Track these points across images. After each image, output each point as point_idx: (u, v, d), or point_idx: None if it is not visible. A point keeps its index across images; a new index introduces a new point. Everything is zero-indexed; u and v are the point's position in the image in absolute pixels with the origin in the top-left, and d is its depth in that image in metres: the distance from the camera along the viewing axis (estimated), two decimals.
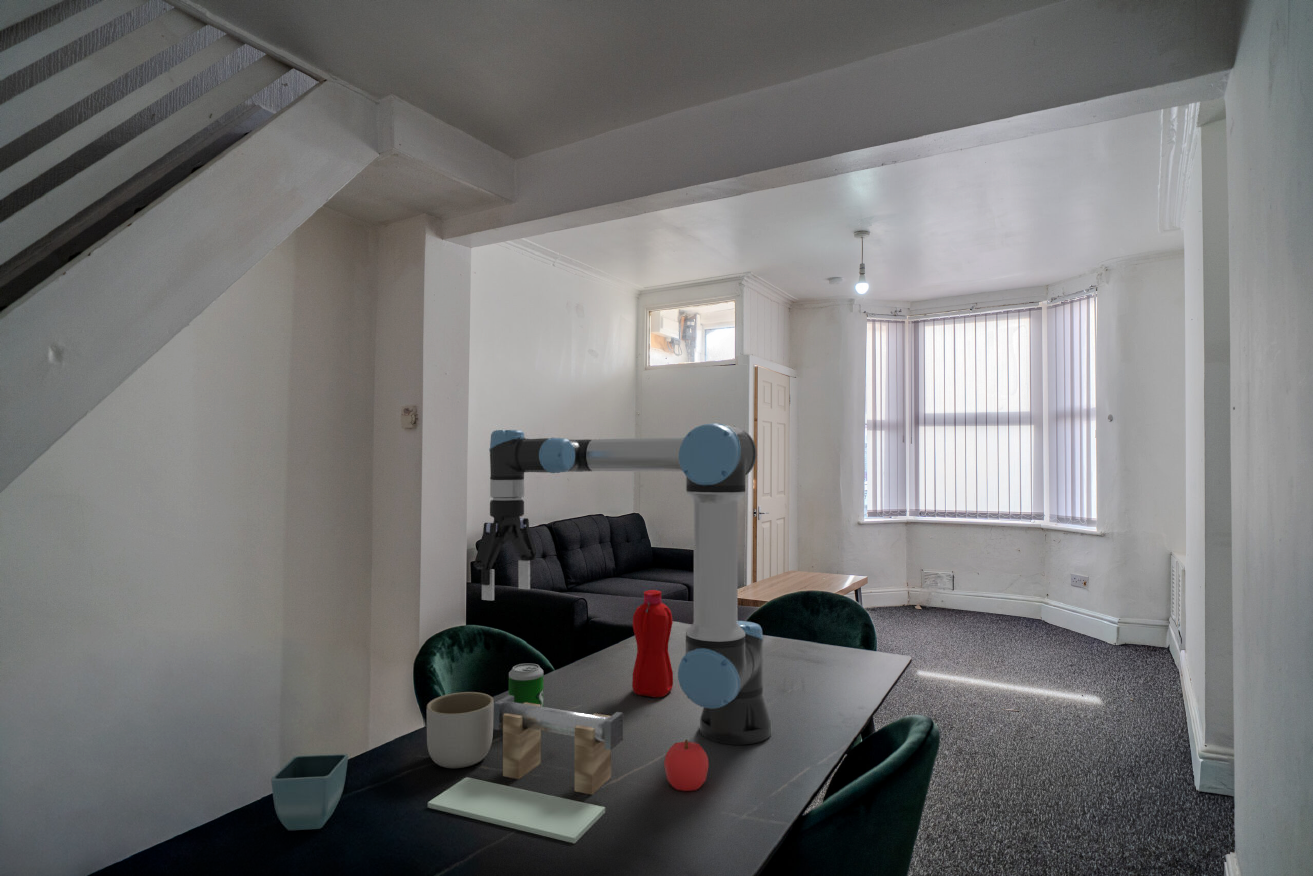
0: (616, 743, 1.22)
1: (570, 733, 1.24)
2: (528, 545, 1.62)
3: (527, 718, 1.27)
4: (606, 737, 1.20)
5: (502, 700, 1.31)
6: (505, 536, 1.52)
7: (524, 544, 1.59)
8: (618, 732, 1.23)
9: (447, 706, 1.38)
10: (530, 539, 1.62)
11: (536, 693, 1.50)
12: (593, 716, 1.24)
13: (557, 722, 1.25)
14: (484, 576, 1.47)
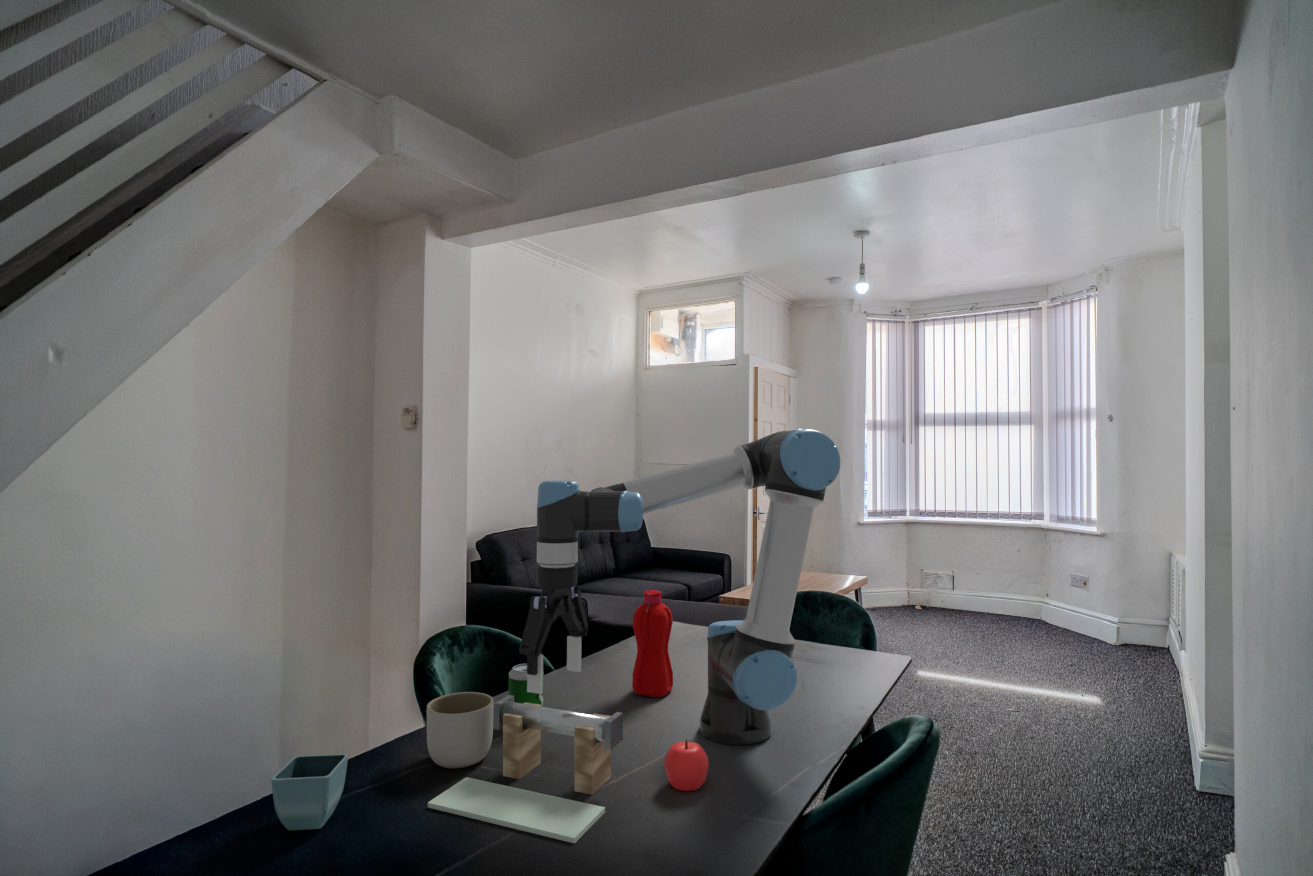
0: (616, 743, 1.22)
1: (570, 733, 1.24)
2: (579, 617, 1.34)
3: (527, 718, 1.27)
4: (606, 737, 1.20)
5: (502, 700, 1.31)
6: (556, 612, 1.24)
7: (575, 618, 1.31)
8: (618, 732, 1.23)
9: (447, 706, 1.38)
10: (582, 610, 1.34)
11: (536, 693, 1.50)
12: (593, 716, 1.24)
13: (557, 722, 1.25)
14: (531, 664, 1.19)
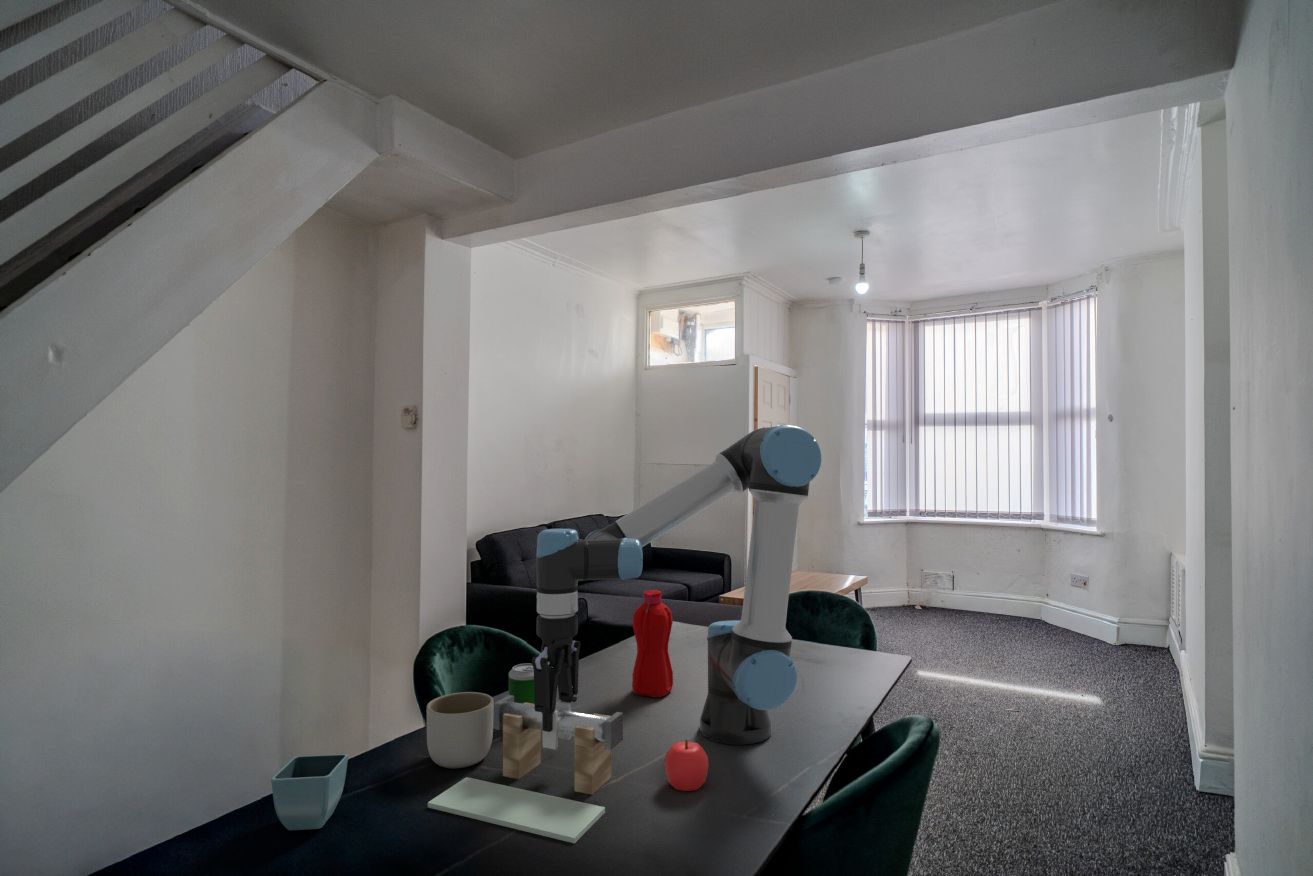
0: (616, 743, 1.22)
1: (570, 733, 1.24)
2: (571, 677, 1.31)
3: (527, 718, 1.27)
4: (606, 737, 1.20)
5: (502, 700, 1.31)
6: (559, 665, 1.25)
7: (569, 676, 1.29)
8: (618, 732, 1.23)
9: (447, 706, 1.38)
10: (576, 670, 1.31)
11: None
12: (593, 716, 1.24)
13: None
14: (546, 721, 1.23)
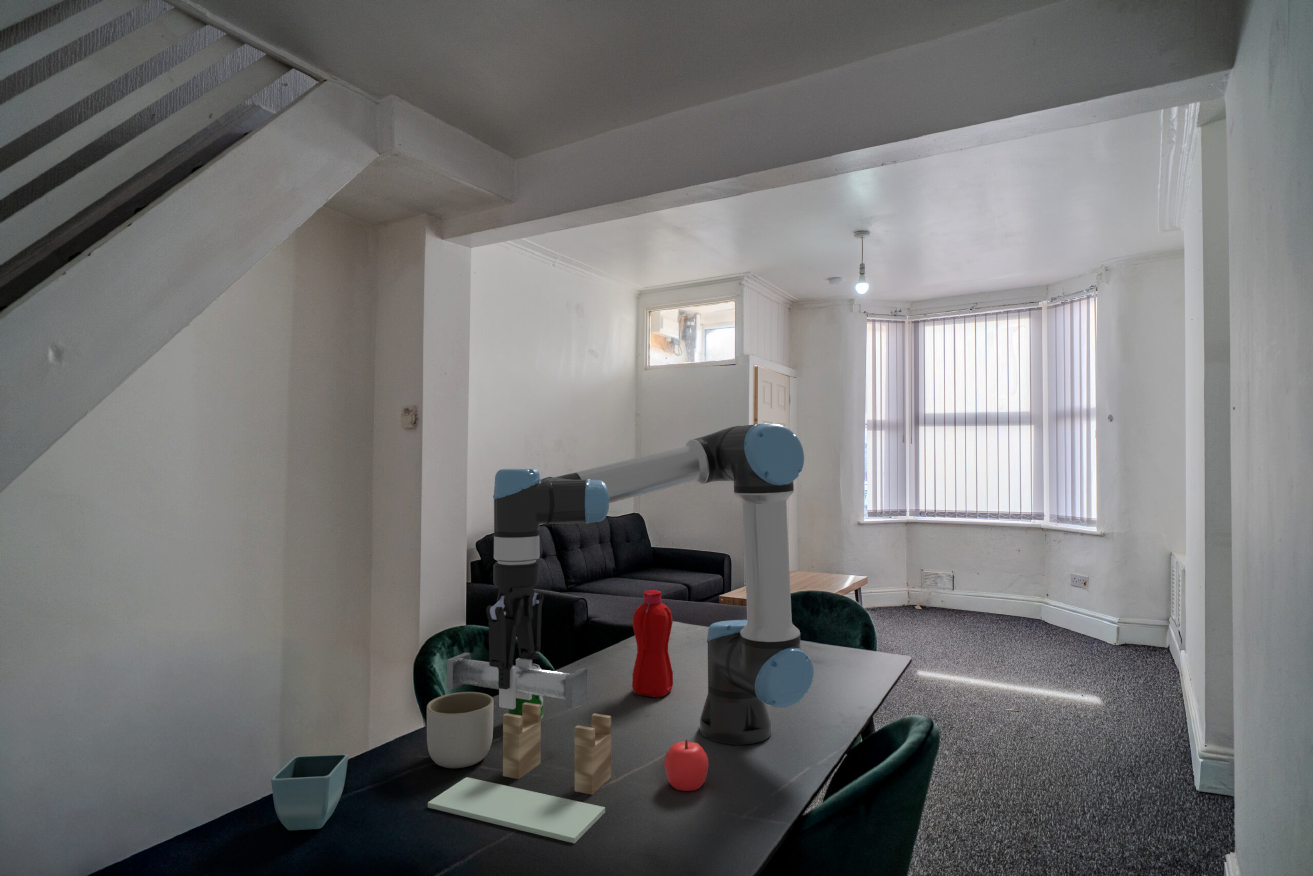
0: (579, 701, 1.10)
1: (529, 691, 1.12)
2: (533, 632, 1.19)
3: (483, 675, 1.15)
4: (567, 694, 1.08)
5: (457, 657, 1.19)
6: (518, 616, 1.13)
7: (530, 630, 1.17)
8: (582, 690, 1.11)
9: (447, 706, 1.38)
10: (538, 624, 1.20)
11: None
12: (554, 672, 1.12)
13: None
14: (503, 677, 1.12)
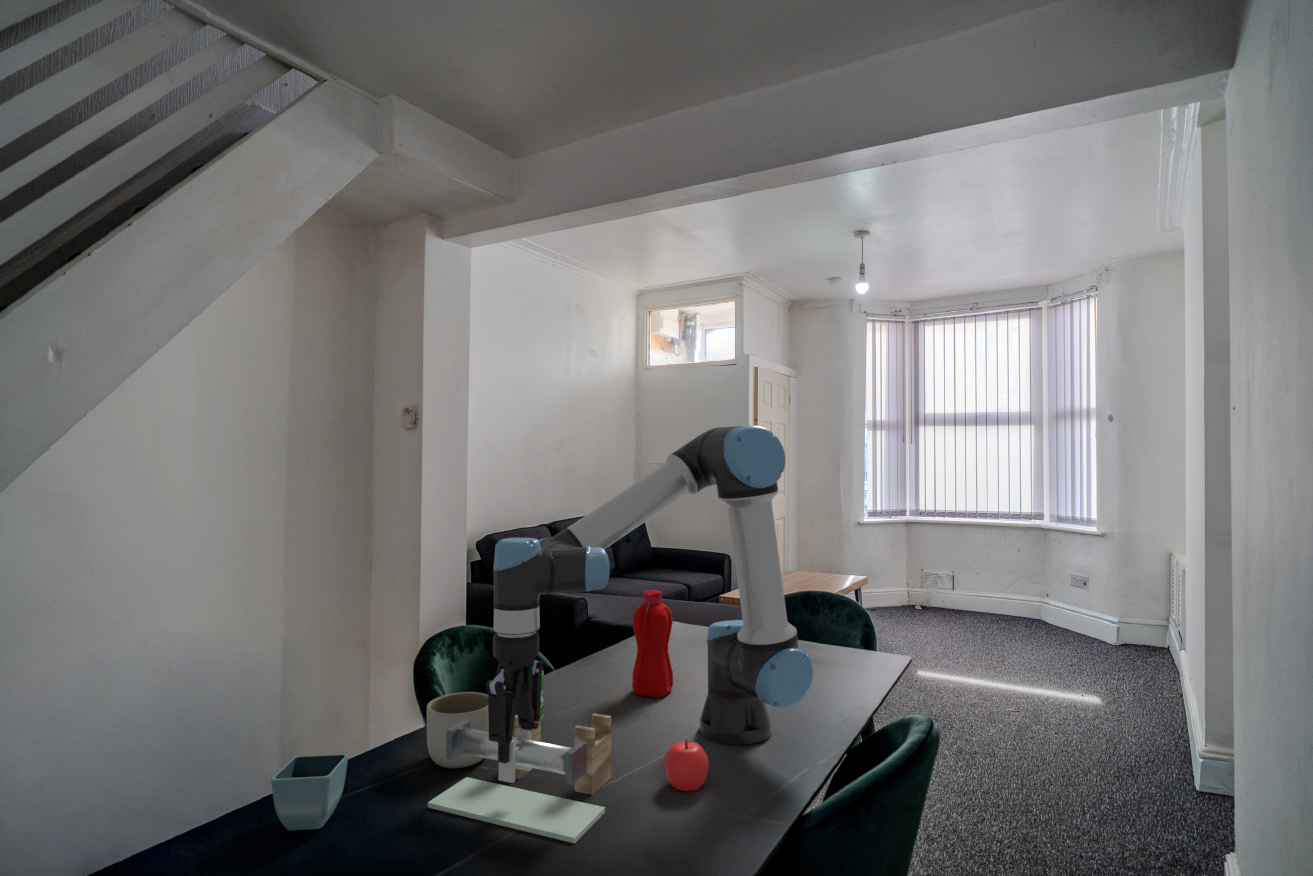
0: (579, 776, 1.10)
1: (528, 765, 1.12)
2: (533, 702, 1.19)
3: (482, 747, 1.15)
4: (567, 770, 1.08)
5: (456, 726, 1.19)
6: (517, 689, 1.13)
7: (530, 700, 1.17)
8: (581, 765, 1.11)
9: (447, 706, 1.38)
10: (538, 693, 1.19)
11: None
12: (554, 746, 1.12)
13: (515, 752, 1.13)
14: (502, 751, 1.11)
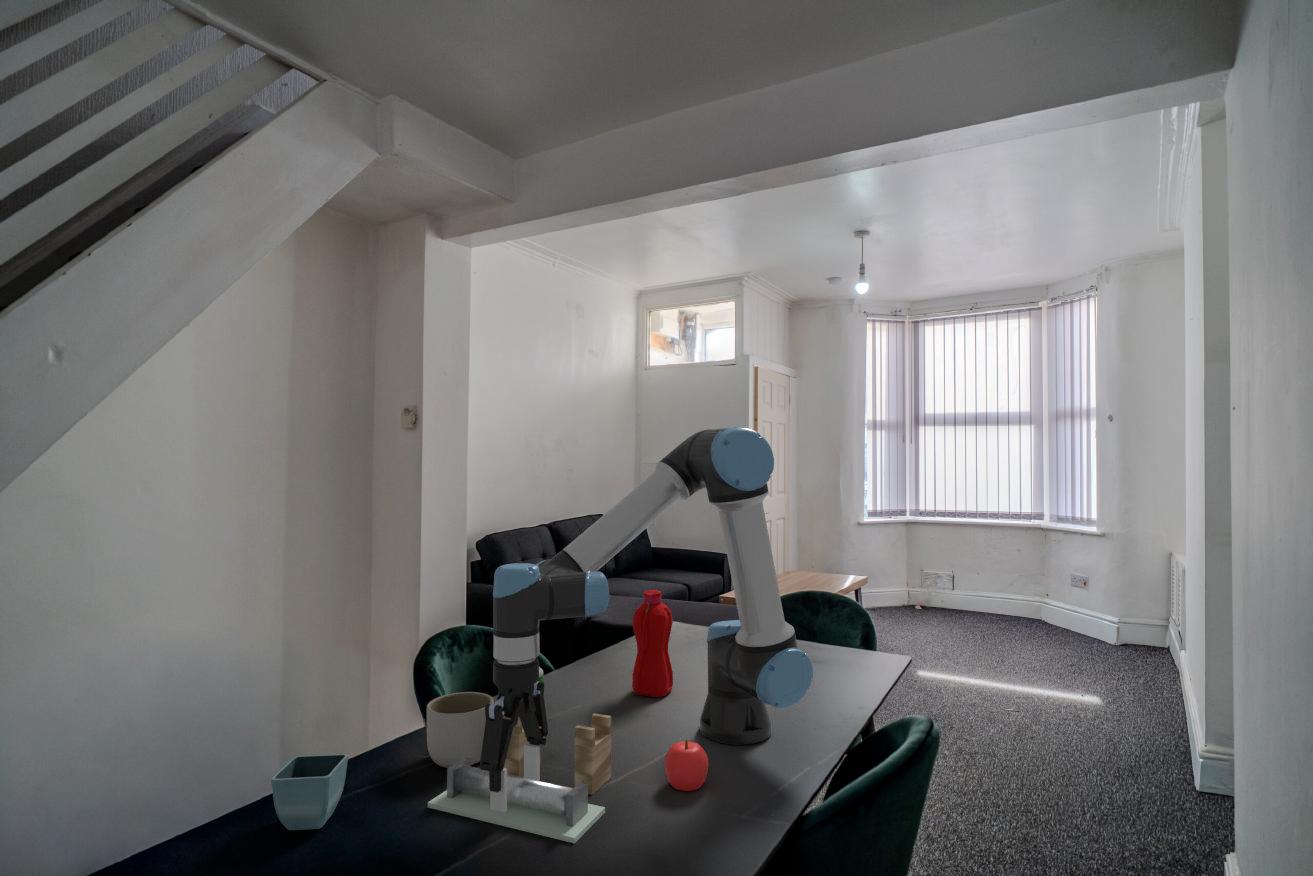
0: (580, 818, 1.10)
1: (529, 805, 1.12)
2: (539, 720, 1.21)
3: (483, 786, 1.15)
4: (568, 812, 1.08)
5: (457, 764, 1.19)
6: (516, 716, 1.12)
7: (534, 721, 1.18)
8: (582, 805, 1.11)
9: (447, 706, 1.38)
10: (543, 712, 1.20)
11: None
12: (555, 786, 1.12)
13: (515, 793, 1.12)
14: (494, 780, 1.09)
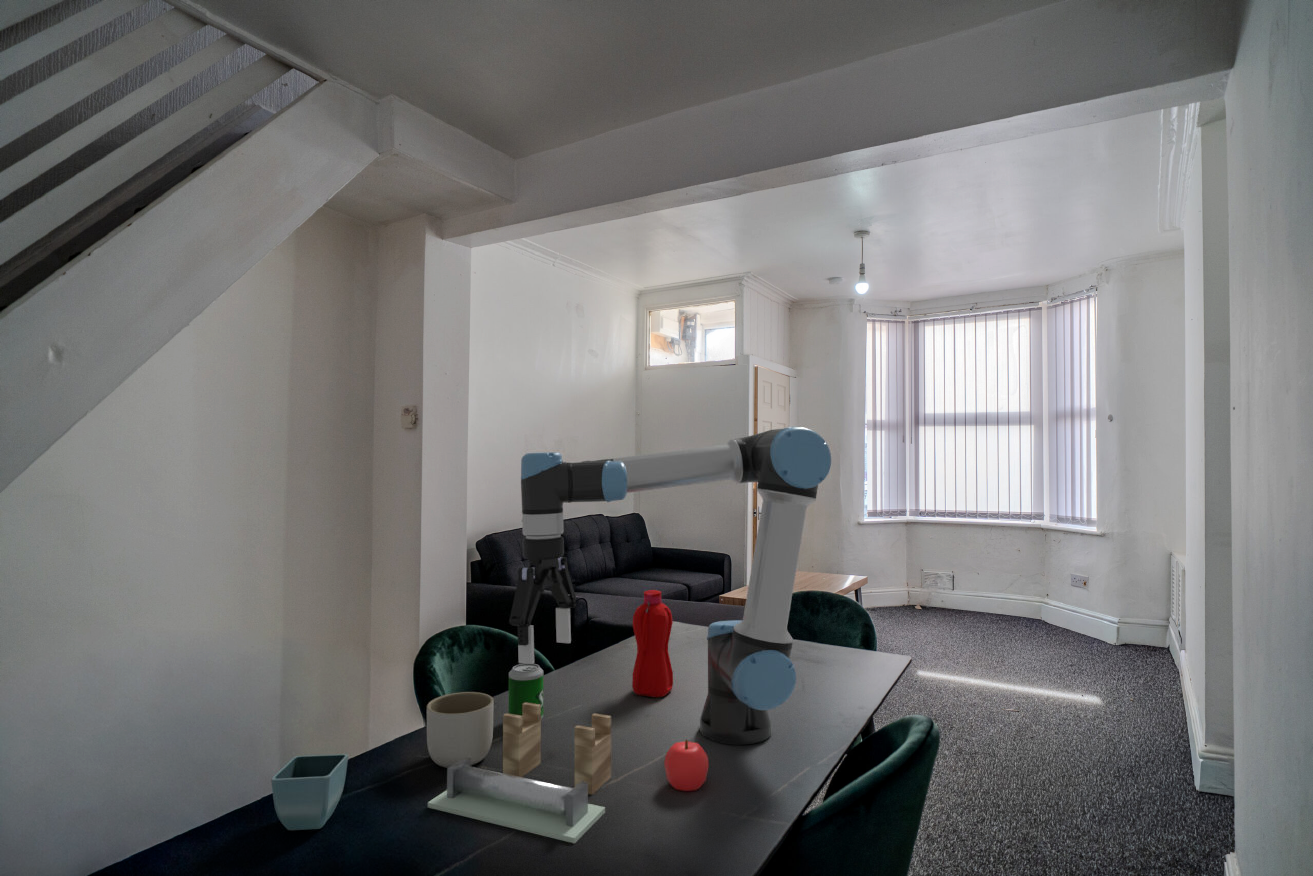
0: (580, 818, 1.10)
1: (529, 805, 1.12)
2: (567, 589, 1.35)
3: (483, 786, 1.15)
4: (568, 812, 1.08)
5: (457, 764, 1.19)
6: (544, 583, 1.24)
7: (563, 589, 1.32)
8: (582, 805, 1.11)
9: (447, 706, 1.38)
10: (569, 582, 1.34)
11: (536, 693, 1.50)
12: (555, 786, 1.12)
13: (515, 793, 1.12)
14: (522, 634, 1.20)
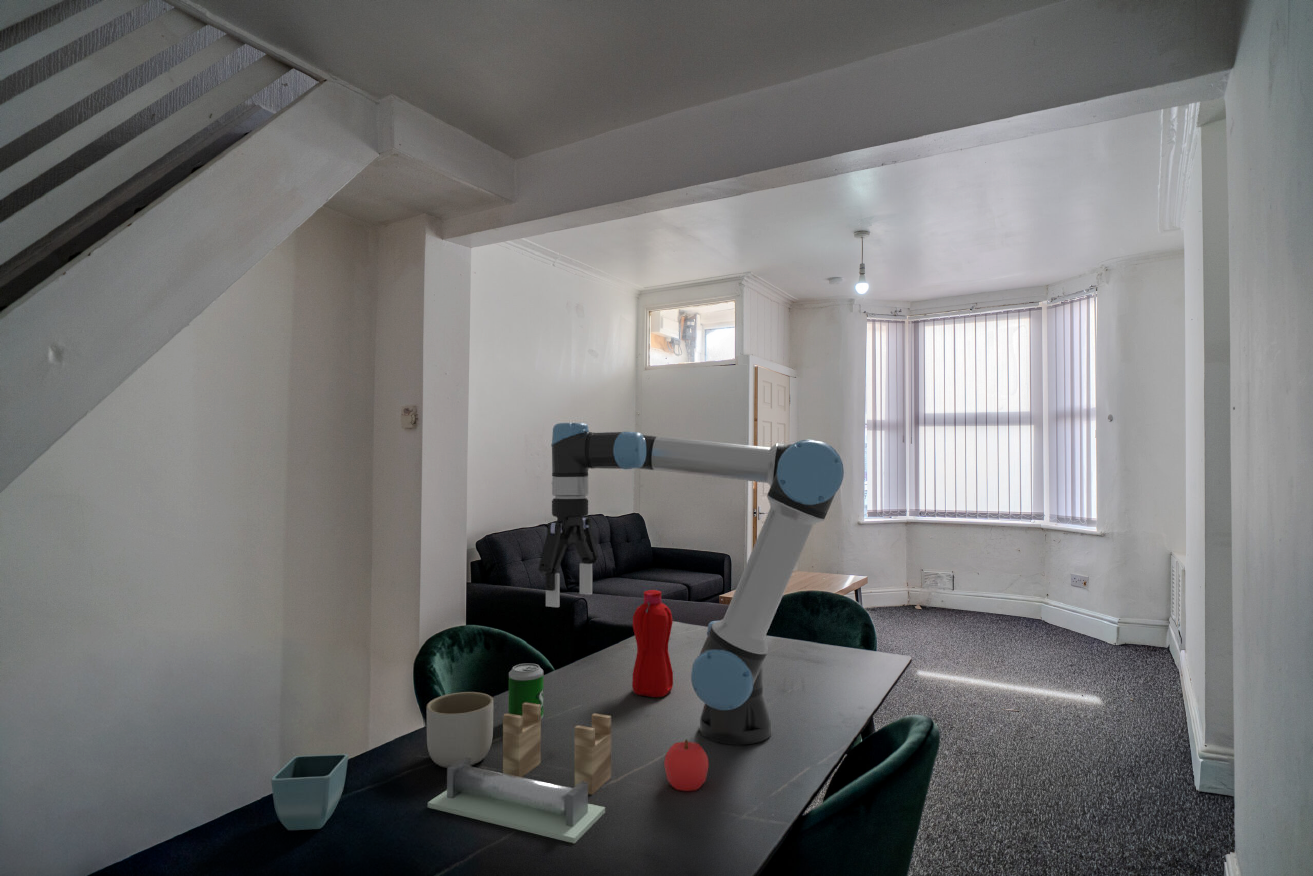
0: (580, 818, 1.10)
1: (529, 805, 1.12)
2: (590, 547, 1.51)
3: (483, 786, 1.15)
4: (568, 812, 1.08)
5: (457, 764, 1.19)
6: (570, 537, 1.41)
7: (586, 546, 1.48)
8: (582, 805, 1.11)
9: (447, 706, 1.38)
10: (592, 541, 1.50)
11: (536, 693, 1.50)
12: (555, 786, 1.12)
13: (515, 793, 1.12)
14: (549, 581, 1.36)
